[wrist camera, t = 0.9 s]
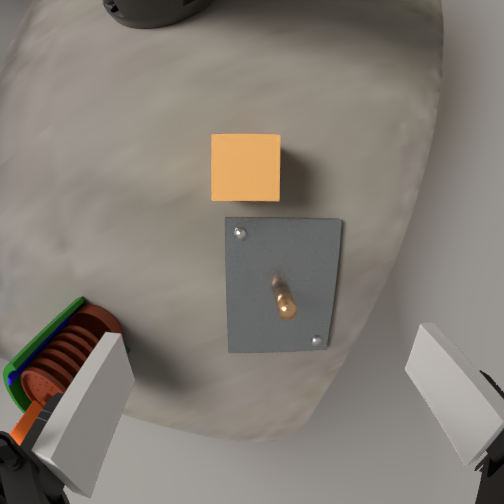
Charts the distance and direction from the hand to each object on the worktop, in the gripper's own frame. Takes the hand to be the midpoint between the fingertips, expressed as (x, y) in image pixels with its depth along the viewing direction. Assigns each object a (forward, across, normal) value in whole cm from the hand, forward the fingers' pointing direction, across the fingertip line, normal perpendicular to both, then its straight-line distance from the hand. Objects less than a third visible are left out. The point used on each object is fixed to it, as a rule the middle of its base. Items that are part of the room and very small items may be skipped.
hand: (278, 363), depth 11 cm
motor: (+19, -21, -12) cm, 31 cm away
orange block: (+20, -1, +7) cm, 21 cm away
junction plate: (+19, +3, -6) cm, 20 cm away
